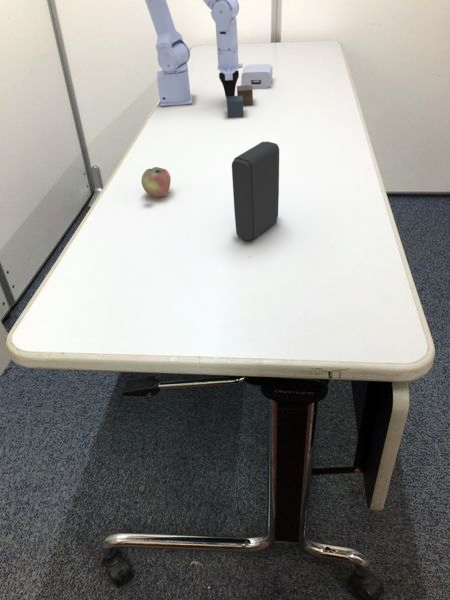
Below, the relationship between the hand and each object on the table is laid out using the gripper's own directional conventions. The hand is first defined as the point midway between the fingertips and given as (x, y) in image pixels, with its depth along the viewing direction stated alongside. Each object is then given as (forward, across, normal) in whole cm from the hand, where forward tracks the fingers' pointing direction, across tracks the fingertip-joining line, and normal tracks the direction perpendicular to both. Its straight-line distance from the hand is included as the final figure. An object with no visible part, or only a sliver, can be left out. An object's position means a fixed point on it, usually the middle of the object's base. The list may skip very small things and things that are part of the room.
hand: (230, 99), depth 136 cm
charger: (+2, +21, -9) cm, 23 cm away
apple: (+2, -54, +16) cm, 56 cm away
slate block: (+2, -9, -1) cm, 9 cm away
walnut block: (+2, 0, -4) cm, 5 cm away
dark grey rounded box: (+2, -69, -4) cm, 69 cm away
